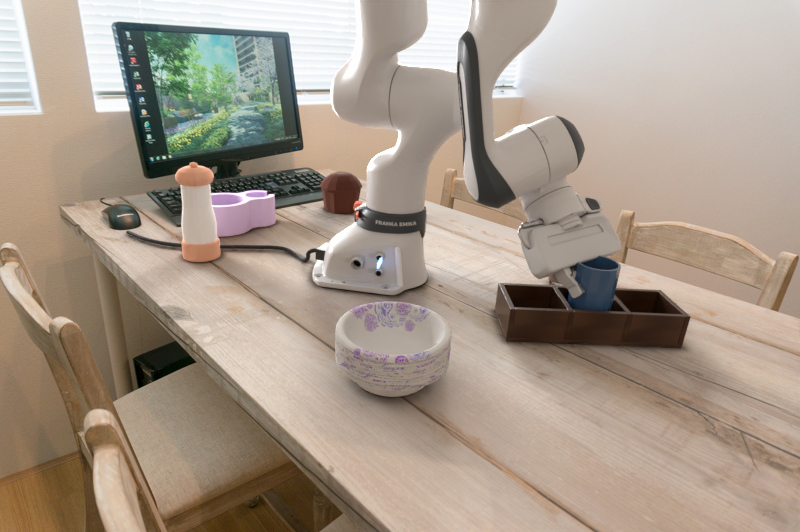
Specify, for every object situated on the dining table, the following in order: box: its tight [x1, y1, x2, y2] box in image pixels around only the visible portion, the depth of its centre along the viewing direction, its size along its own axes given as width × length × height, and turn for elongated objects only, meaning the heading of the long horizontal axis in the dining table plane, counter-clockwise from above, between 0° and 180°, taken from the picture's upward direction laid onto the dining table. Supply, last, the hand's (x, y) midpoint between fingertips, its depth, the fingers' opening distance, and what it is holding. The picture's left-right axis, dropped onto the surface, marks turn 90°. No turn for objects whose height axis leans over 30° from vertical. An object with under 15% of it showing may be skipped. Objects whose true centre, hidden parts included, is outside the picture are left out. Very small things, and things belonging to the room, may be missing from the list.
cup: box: [567, 256, 622, 311], centre depth 86 cm, size 7×7×10 cm
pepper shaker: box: [174, 161, 221, 263], centre depth 105 cm, size 7×7×19 cm
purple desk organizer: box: [211, 189, 277, 238], centre depth 126 cm, size 20×12×7 cm, turn 132°
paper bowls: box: [334, 300, 453, 398], centre depth 70 cm, size 15×15×8 cm
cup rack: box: [494, 282, 691, 349], centre depth 87 cm, size 28×10×6 cm, turn 91°
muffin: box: [319, 170, 363, 215], centre depth 144 cm, size 12×11×10 cm
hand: (595, 290), depth 85 cm, fingers closed on cup, 7 cm apart
